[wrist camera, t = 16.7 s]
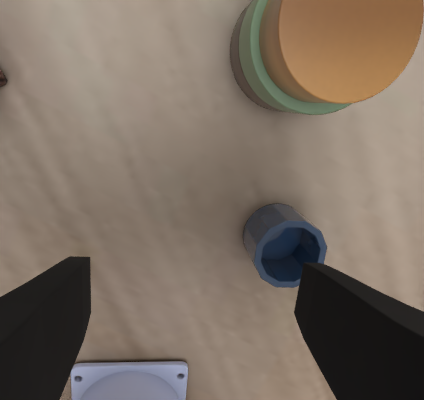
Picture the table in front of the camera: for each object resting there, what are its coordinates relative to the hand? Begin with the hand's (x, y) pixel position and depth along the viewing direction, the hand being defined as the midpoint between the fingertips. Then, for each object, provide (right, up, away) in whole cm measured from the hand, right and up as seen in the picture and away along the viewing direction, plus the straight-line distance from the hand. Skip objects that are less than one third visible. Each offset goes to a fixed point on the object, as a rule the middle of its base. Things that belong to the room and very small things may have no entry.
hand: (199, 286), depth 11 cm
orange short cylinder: (+5, +10, +3) cm, 11 cm away
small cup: (+5, +1, +11) cm, 12 cm away
